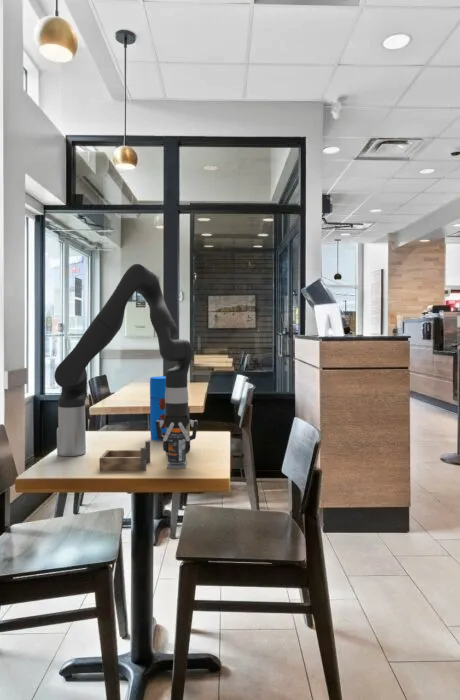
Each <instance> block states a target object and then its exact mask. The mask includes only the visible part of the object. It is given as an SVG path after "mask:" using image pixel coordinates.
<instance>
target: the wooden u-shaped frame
mask: <svg viewBox="0 0 460 700" xmlns="http://www.w3.org/2000/svg"><path fill="white" fill-rule="evenodd" d="M144 445H145V446H144V447H140V449H115V450H114V449H109V450H108V449H107V450H105V452H104V453H102V455H101V456H100V457H99V459H98V460H99V461H98V462H99V471H101V472H103V471H104V472H105V471H107V472H108V471H109V472H110V471H112V472H113V471H114V472H116V471H121V470H129V471H146V470H147V463H151V441H150V440H146V441H145V442H144Z"/></svg>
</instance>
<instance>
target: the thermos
mask: <svg viewBox="0 0 460 700" xmlns="http://www.w3.org/2000/svg"><path fill="white" fill-rule="evenodd" d="M165 390H166V375H164V376H162V375H161V376H151V377H150V378H149V408H150V409H149V416H150V417H149V421H150V422H149V423H150V424H149V426H150V428H149V429H150V430H149V431H150V440H151V441H155V442H156V441H157V442H163V441H162V440H160V439H158V438H157V431H156V424H155V422H156V421H157V420H159V421H160V420H164V419H165ZM161 433H162V435H163V436H165V434H166V425H165V424H164V423H163V425H162V427H161Z"/></svg>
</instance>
